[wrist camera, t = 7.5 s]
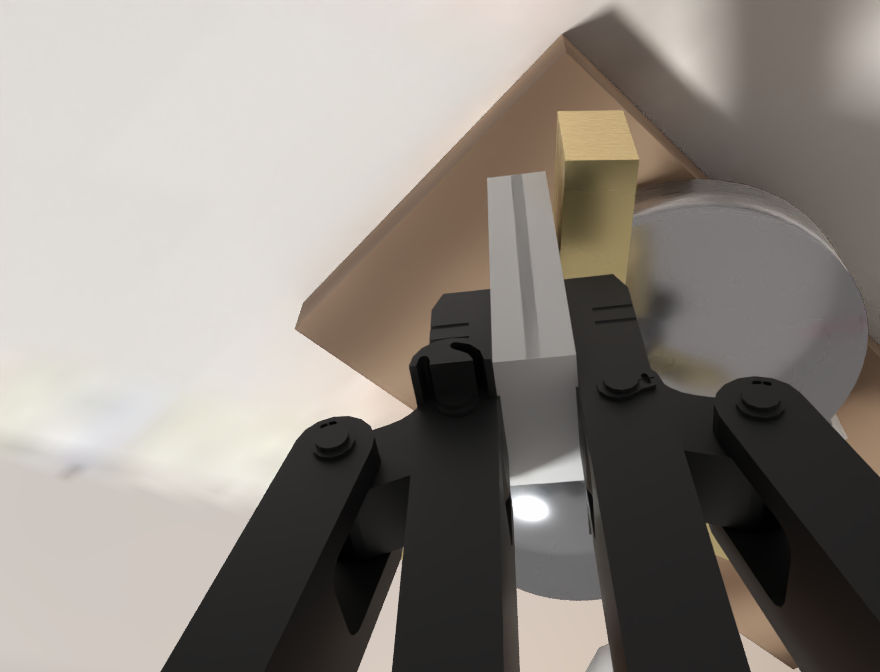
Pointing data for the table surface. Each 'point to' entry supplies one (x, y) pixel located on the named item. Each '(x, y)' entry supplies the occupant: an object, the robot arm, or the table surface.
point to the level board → (468, 267)
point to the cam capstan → (686, 308)
